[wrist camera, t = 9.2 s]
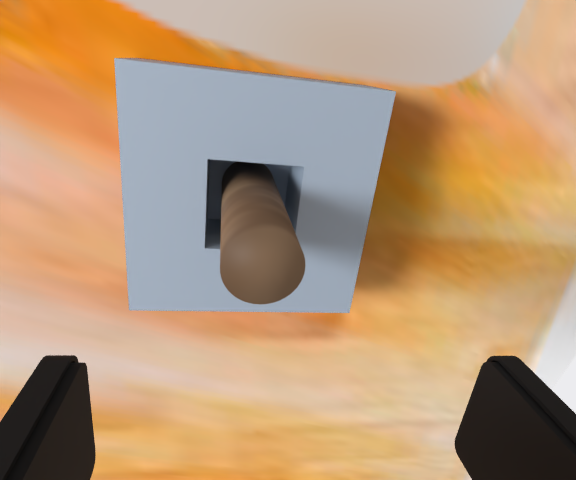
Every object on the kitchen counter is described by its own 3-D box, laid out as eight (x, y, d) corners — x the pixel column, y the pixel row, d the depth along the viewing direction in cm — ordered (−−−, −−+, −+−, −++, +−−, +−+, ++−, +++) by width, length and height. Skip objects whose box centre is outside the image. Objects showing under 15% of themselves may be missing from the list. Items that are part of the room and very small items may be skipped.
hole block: (364, 85, 22) (396, 91, 18) (330, 274, 27) (349, 312, 23) (136, 57, 20) (114, 58, 16) (144, 268, 25) (129, 310, 21)
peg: (276, 161, 22) (310, 231, 13) (271, 210, 24) (299, 305, 15) (223, 156, 22) (222, 226, 13) (220, 207, 23) (218, 303, 14)
